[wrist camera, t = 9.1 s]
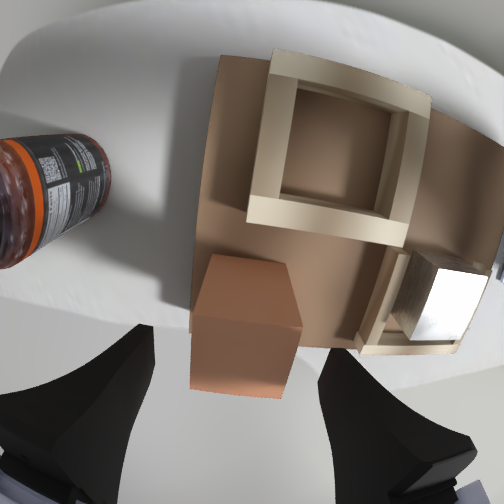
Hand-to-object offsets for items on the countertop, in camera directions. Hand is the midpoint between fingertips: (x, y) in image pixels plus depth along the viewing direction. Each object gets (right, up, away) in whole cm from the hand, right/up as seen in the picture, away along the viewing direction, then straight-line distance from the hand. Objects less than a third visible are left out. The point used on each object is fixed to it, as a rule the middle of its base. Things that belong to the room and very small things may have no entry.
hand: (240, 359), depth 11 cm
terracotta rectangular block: (0, +2, +5) cm, 6 cm away
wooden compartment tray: (+8, +6, +7) cm, 12 cm away
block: (+12, +2, +6) cm, 13 cm away
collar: (+5, +9, +3) cm, 11 cm away
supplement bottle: (-11, +9, +6) cm, 15 cm away
